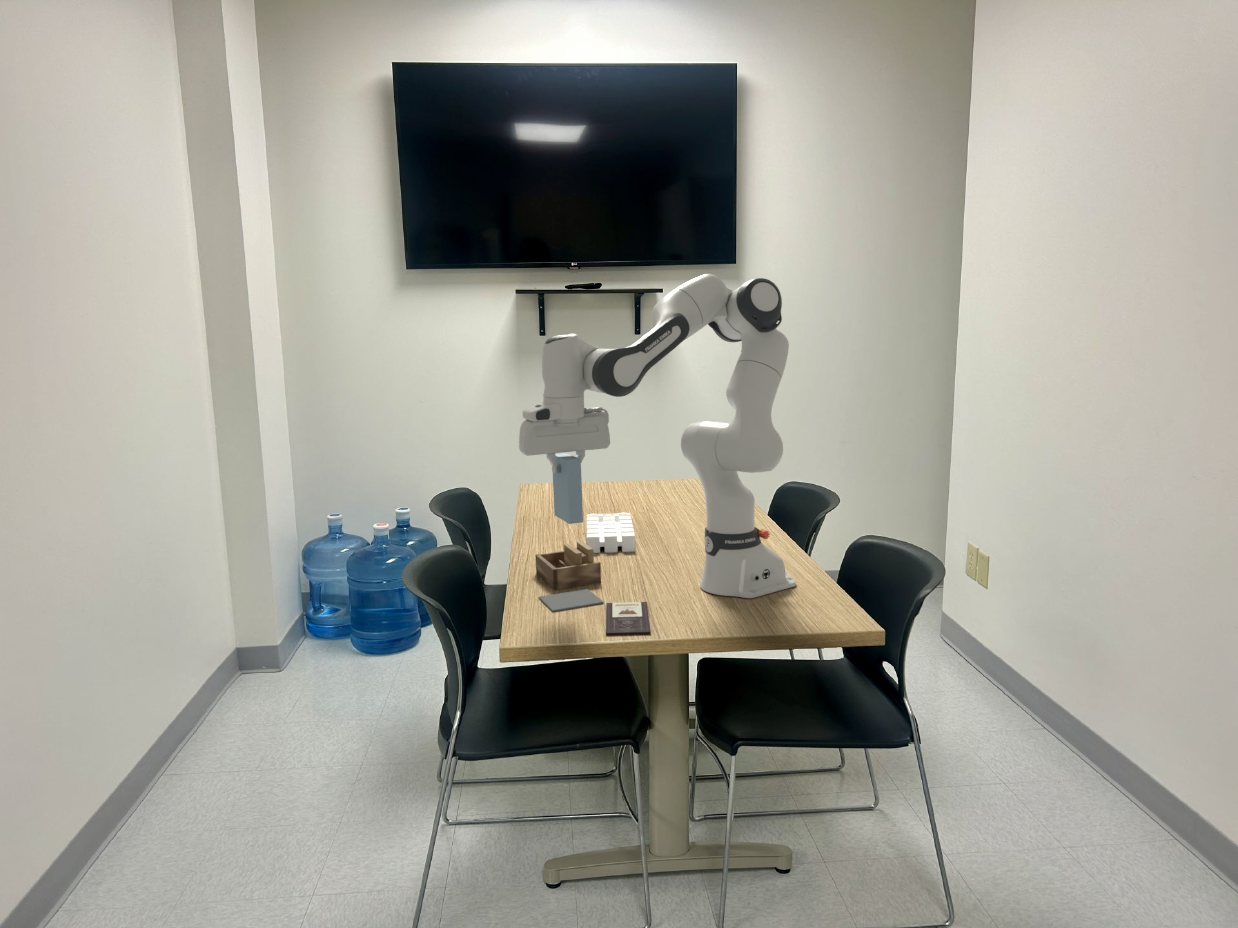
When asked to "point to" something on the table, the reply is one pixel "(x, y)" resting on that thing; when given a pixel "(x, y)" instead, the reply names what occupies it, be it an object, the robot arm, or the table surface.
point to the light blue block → (568, 489)
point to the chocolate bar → (627, 619)
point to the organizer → (610, 532)
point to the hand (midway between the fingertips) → (566, 471)
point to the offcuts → (578, 554)
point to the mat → (570, 600)
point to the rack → (565, 571)
